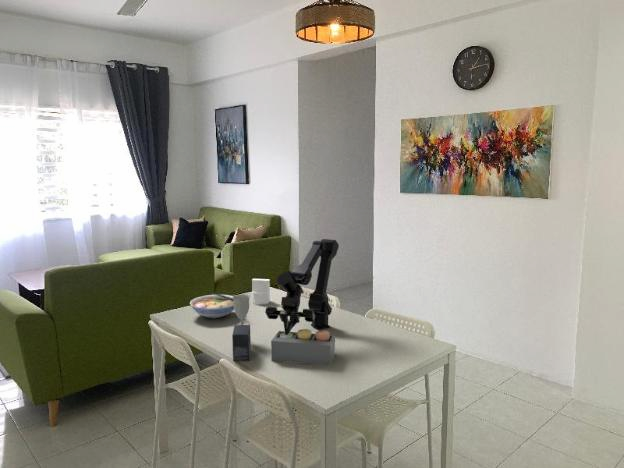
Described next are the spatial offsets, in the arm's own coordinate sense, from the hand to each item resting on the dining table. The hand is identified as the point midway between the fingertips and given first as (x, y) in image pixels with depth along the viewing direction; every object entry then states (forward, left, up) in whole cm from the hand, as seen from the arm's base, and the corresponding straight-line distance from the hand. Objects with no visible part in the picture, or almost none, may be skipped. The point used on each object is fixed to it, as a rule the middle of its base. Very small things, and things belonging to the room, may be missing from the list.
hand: (286, 334), depth 182 cm
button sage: (0, 0, -3) cm, 3 cm away
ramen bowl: (+10, -57, -8) cm, 58 cm away
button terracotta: (-11, +9, -1) cm, 14 cm away
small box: (+15, -7, -8) cm, 19 cm away
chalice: (+9, -23, -8) cm, 26 cm away
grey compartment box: (-4, +6, -8) cm, 11 cm away
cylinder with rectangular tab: (-18, -68, -8) cm, 71 cm away
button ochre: (-5, +5, -1) cm, 7 cm away
